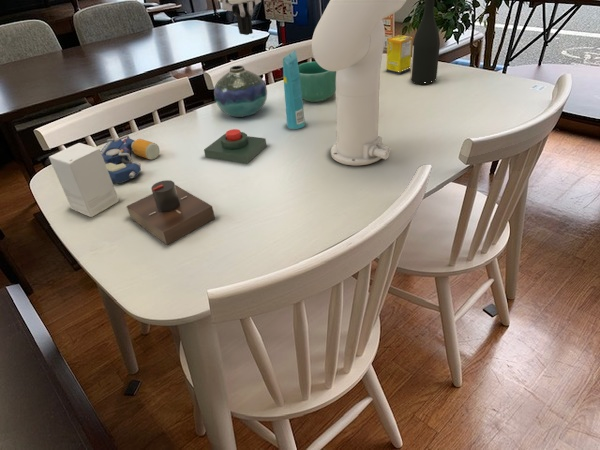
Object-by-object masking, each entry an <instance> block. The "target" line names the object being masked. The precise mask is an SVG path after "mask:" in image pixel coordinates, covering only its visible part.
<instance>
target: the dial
mask: <svg viewBox="0 0 600 450" xmlns="http://www.w3.org/2000/svg"><path fill="white" fill-rule="evenodd" d="M175 185H176V183H175V181H172V180H167V179H166V180H165V179H164V180H161V181H160V180H159V181H157V182H156V183H153V185H152V186H151V188H150V189H151V194H153V196H154V199H155V202H156V206H157V209H158V210H159V211H162V212H168V211H172V210H175V209H176V208H178V207H179V205H180V202H179V198H178V194H177V191H176V187H175Z"/></svg>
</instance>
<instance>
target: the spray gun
mask: <svg viewBox="0 0 600 450" xmlns="http://www.w3.org/2000/svg"><path fill="white" fill-rule="evenodd" d="M100 151H101V153H102V156H103V159H104V162H105V164H106V167H107V170H108V172H109V175H110V178H111V180H112V183H116V184H121V183H124V182H126V181H129V180H132V179H135V178H137V177H138V175H139V174H140V172H141V164H140V163H139V162H137V163H136V162H134V163H133V160H132V155H131V151H132V152H133V154H134V155H135V156H139V157H142V158H145V159H148V160H151V161H152V160H156V159H157V158H158V157H159V155H160V147H159V144H157V143H155V142H153V141H149V140H145V139H142V138H138V139H136V140H135V139H132V138H131V137H130V135H128V134H126V135H123V136H121V137H115V138H114V137H113V138H108V139H106V144H105V145H104V146H103V148H102V149H100Z"/></svg>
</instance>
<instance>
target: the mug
mask: <svg viewBox="0 0 600 450" xmlns="http://www.w3.org/2000/svg"><path fill="white" fill-rule="evenodd" d="M298 67H299V75H300V84H301V92H302V100H304V101H306V102H309V103H320V102H325V101H326V100H328V99H329V98H331V97H332V96H333V95H334V94H335V93H336V71H328V70H325V69H323V68H322V67H321V66H319V64H318V63H317V62H316V60H315V61H308V62H303V63H299V64H298Z"/></svg>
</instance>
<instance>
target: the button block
mask: <svg viewBox="0 0 600 450" xmlns="http://www.w3.org/2000/svg"><path fill="white" fill-rule="evenodd" d="M267 147H268V146H267V138H265V137H259V136H258V137H256V136H250V135H248V134H247V133H246V132H245V131H244V132H243V131H241V139H239V140H236V141H228V140H227V137H226V132H225V133H224V134H222V135H221V136H220V137H219V138H217V139H216V140H214V141H213V142H212V143H211V144H209V145H208V146H206V147H205V148H204V150H203V152H204V156H205V158H207V159H212V160H220V161H225V162H231V163H238V164H245V165H248V164H249V163H250V162H251V161H252V160H253V159H255V158H256V157H257V156H258V155H259V154H261V152H262V151H263V150H264V149H266V148H267Z"/></svg>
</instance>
